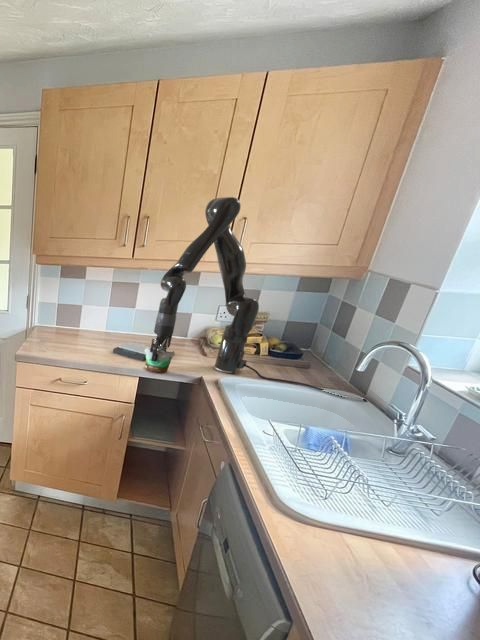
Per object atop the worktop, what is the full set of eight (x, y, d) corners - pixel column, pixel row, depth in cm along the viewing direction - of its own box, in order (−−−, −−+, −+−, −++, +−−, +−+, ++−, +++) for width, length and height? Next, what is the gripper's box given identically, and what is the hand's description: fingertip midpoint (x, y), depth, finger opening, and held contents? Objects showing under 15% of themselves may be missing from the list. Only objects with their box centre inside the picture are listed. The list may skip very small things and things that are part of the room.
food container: (139, 371, 185) (143, 350, 181) (141, 366, 190) (145, 346, 186) (169, 376, 180) (174, 354, 175) (170, 371, 185) (175, 350, 180)
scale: (158, 353, 206) (159, 348, 205) (142, 361, 196) (144, 355, 195) (129, 346, 217) (129, 341, 216) (112, 352, 207) (113, 347, 206)
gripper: (166, 327, 169) (158, 365, 176) (181, 321, 178) (173, 357, 184) (148, 324, 174) (141, 360, 181) (164, 318, 183) (157, 353, 189)
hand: (157, 359), depth 182 cm, fingers closed on food container, 7 cm apart
